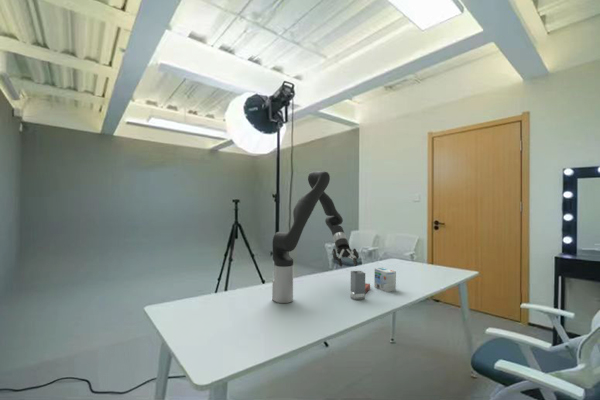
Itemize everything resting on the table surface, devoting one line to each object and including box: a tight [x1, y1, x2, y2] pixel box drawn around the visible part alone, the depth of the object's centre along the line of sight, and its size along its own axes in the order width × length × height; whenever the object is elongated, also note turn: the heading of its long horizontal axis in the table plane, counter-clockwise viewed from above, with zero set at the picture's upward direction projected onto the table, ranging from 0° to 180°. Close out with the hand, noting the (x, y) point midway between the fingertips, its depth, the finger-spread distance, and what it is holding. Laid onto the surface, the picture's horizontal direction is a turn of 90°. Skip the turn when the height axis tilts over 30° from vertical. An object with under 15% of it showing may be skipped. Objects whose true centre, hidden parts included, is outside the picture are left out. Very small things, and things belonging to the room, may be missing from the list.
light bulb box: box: [373, 267, 397, 293], centre depth 159 cm, size 11×7×11 cm, turn 25°
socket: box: [350, 270, 366, 294], centre depth 143 cm, size 5×5×10 cm
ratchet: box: [350, 282, 371, 301], centre depth 150 cm, size 23×7×7 cm, turn 153°
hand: (348, 265), depth 153 cm, fingers open, 8 cm apart
